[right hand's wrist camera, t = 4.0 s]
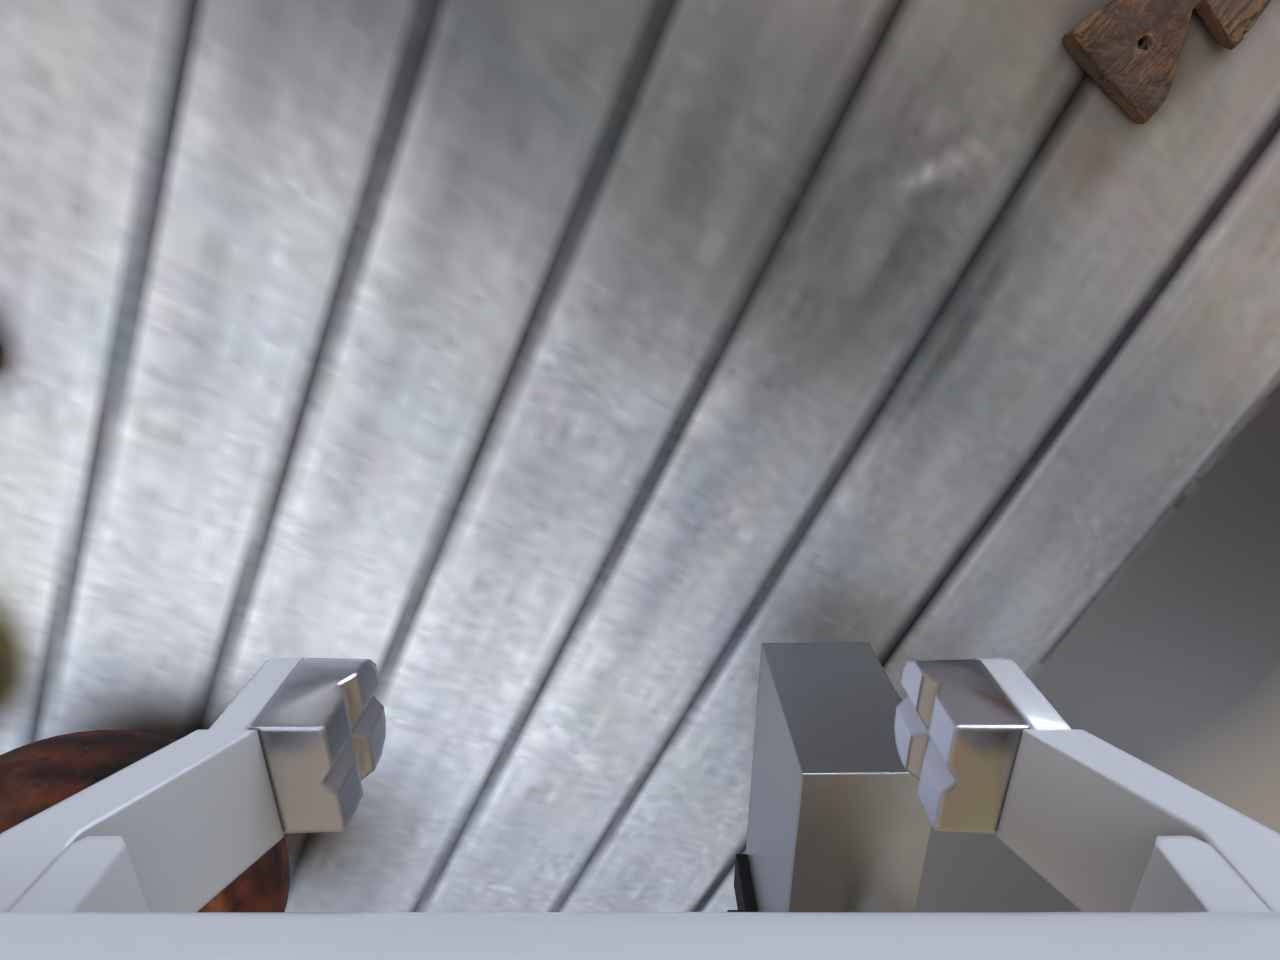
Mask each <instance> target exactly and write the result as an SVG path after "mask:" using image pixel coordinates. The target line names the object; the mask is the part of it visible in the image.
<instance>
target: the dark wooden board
mask: <svg viewBox="0 0 1280 960" xmlns="http://www.w3.org/2000/svg"><path fill="white" fill-rule="evenodd" d="M1270 1H1271V0H1114V1H1112V2H1111V3H1109V4H1107V5H1106V6H1104V7H1103V8H1101V9H1100V10H1098V11H1097V12H1095V13H1094V14H1092V15H1091V16H1089V17H1088V18H1086V19H1085V20H1084V21H1082V22H1081V23H1080V24H1078V25H1077V26H1076V27H1074V28H1073V29H1071V30H1070V31H1069V32H1068V33H1067V34H1066V35H1065V36H1064V38H1063V39H1062V41H1063V44H1064V46H1065V47H1066V48H1067V49H1068V51H1069V52H1070V53H1071V54H1072V55H1073V57H1074V58H1075V59H1076V61H1077V62H1078V64H1079V65H1080V66H1081V67H1082V69H1083V70H1084V71H1085V72H1086V73H1087V74H1088V75H1089V76H1091V77H1092V79H1093V80H1094V81H1095V82H1096V83H1097V84H1098V85H1099V86H1100V87H1101V88H1102V90H1103V91H1104V92H1105V93H1106V94H1107V95H1108V96H1109V97H1110V98H1111V99H1112V100H1113V101H1114V102H1115V103H1116V104H1117V105H1118V106H1119V107H1120V108H1121V109H1122V110H1123V111H1124V112H1125V113H1126V114H1127V115H1128V116H1129V117H1130V118H1131V119H1132V120H1133V121H1134V122H1135V123H1138V124H1143V123H1145V122H1147V121H1148V120H1149V119H1150V117H1151V116H1152V115H1153V114H1154V113H1155V112H1156V111H1157V110H1158V108H1159V107H1160V106H1161V104H1162V103H1163V102H1164V100H1165V99H1166V97H1167V95H1168V93H1169V90H1170V87H1171V84H1172V80H1173V77H1174V74H1175V70H1176V67H1177V63H1178V59H1179V56H1180V52H1181V49H1182V46H1183V44H1184V41H1185V38H1186V34H1187V30H1188V26H1189V23H1190V19H1191V15H1192V10H1193V9H1195V10H1196V12H1197V14H1198V15H1199V16H1201V17H1202V19H1203V21H1204V23H1205V25H1206V26H1207V28H1208V29H1209V31H1210V32H1211V34H1212V35H1213V37H1214V38H1215V39H1216V40H1217V41H1218V42H1219V43H1220V44H1221V45H1222V46H1223V47H1225V48H1227V49H1229V50H1232V49H1233V48H1234V47H1236V46H1237V45H1238V44H1239V43H1240V42H1241V40H1242V39H1243V35H1244V34H1245V33H1247V32H1248V31H1249V29H1250V28H1251V27H1252V26H1253V24H1254V23H1255V22H1256V20H1257V19H1258V17H1259V16H1260V14H1261V13H1262V12H1263V10H1264V9H1265V8H1266V6H1267V5H1268V3H1269V2H1270Z"/></svg>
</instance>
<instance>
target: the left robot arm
mask: <svg viewBox="0 0 1280 960" xmlns="http://www.w3.org/2000/svg"><path fill="white" fill-rule="evenodd" d="M734 888H735V894H736V901H737V907H738V910H728V911H727V912H758V909H757V904H756V898H755V893H754V888H753V882H752V877H751V871H750V866H749V860H748V855H747V854H736V862H735V877H734Z"/></svg>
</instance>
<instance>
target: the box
mask: <svg viewBox="0 0 1280 960" xmlns="http://www.w3.org/2000/svg"><path fill="white" fill-rule="evenodd" d="M900 702H901V699H900V697H899V695H898V694H897V692H896V690H895V688H894V687H893V685H892V683H891V681H890V680H889V678H888V676H887V674H886V672H885V671H884V669H883V667H882V665H881V664H880V662H879V660H878V658H877V657H876V655H875V653H874V651H873V649H872V648H871V646H870V644H869V643H762V644H761V658H760V671H759V685H758V698H757V711H756V725H755V738H754V752H753V765H752V778H751V792H750V805H749V819H748V832H747V845H746V854H747V855H748V860H749V866H750V871H751V877H752V882H753V888H754V893H755V898H756V904H757V909H758V912H915V908H916V903H917V898H918V893H919V888H920V883H921V878H922V873H923V868H924V863H925V857H926V852H927V847H928V842H929V837H930V832H931V827H932V824H931V822H930V820H929V818H928V816H927V814H926V812H925V810H924V808H923V806H922V804H921V801H920V799H919V797H918V795H917V791H918V786H919V780H918V779H917V778H915V777H914V776H913V775H911V774H910V773H909V772H907V771H906V770H905V768H904V766H903V763H902V761H901V759H900V757H899V753H898V750H897V746H896V741H895V729H894V722H895V714H896V706H897V705H898V704H899V703H900Z"/></svg>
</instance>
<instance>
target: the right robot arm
mask: <svg viewBox="0 0 1280 960" xmlns="http://www.w3.org/2000/svg"><path fill="white" fill-rule="evenodd" d="M379 683H380V682H379V677H378V673H377V668H376V664H375V663H374V662H372V661H371V660H370V659H328V658H306V659H304V658H273V659H271V660H268V661H266V662H265V663H264V664H263V665H262V666H261V668H260V669H259V670H258V671H257V672H256V673H255V675H254V676H253V677H252V678H251V679H250V681H249V682H248V683H247V684H246V685H245V687H244V688H243V689H242V690H241V691H240V692H239V694H238V695H237V696H236V697H235V698H234V700H233V701H232V702H231V703H230V704H229V706H228V707H227V708H226V709H225V710H224V711H223V713H222V714H221V715H220V716H219V717H218V719H217V720H216V721H215V722H214V723H213V725H212V726H211V727H210V728H209V729H208V730H196V731H194V732H192V733H190V734H188V735H186V736H185V737H183V738H181V739H179V740H177V741H175V742H173V743H171V744H169V745H167V746H166V747H164V748H162V749H160V750H158V751H156V752H154V753H152V754H150V755H148V756H147V757H145V758H143V759H141V760H139V761H137V762H135V763H133V764H131V765H130V766H128V767H126V768H124V769H122V770H120V771H118V772H116V773H114V774H112V775H111V776H109V777H107V778H105V779H103V780H101V781H99V782H97V783H95V784H93V785H92V786H90V787H88V788H86V789H84V790H82V791H80V792H78V793H76V794H75V795H73V796H71V797H69V798H67V799H65V800H63V801H61V802H59V803H57V804H56V805H54V806H52V807H50V808H48V809H46V810H44V811H42V812H40V813H38V814H37V815H35V816H33V817H31V818H29V819H27V820H25V821H23V822H21V823H20V824H18V825H16V826H14V827H12V828H10V829H8V830H6V831H4V832H2V833H1V834H0V960H1280V834H1279V833H1277V832H1275V831H1273V830H1271V829H1269V828H1268V827H1266V826H1264V825H1262V824H1260V823H1258V822H1256V821H1254V820H1252V819H1251V818H1249V817H1247V816H1245V815H1243V814H1241V813H1239V812H1237V811H1235V810H1234V809H1232V808H1230V807H1228V806H1226V805H1224V804H1222V803H1220V802H1218V801H1216V800H1215V799H1213V798H1211V797H1209V796H1207V795H1205V794H1203V793H1201V792H1199V791H1198V790H1196V789H1194V788H1192V787H1190V786H1188V785H1186V784H1184V783H1182V782H1181V781H1179V780H1177V779H1175V778H1173V777H1171V776H1169V775H1167V774H1165V773H1163V772H1162V771H1160V770H1158V769H1156V768H1154V767H1152V766H1150V765H1148V764H1146V763H1145V762H1143V761H1141V760H1139V759H1137V758H1135V757H1133V756H1131V755H1130V754H1128V753H1126V752H1124V751H1122V750H1120V749H1118V748H1116V747H1114V746H1112V745H1111V744H1109V743H1107V742H1105V741H1103V740H1101V739H1099V738H1097V737H1095V736H1094V735H1092V734H1090V733H1088V732H1086V731H1084V730H1072V729H1071V728H1070V727H1069V726H1068V725H1067V723H1066V722H1065V721H1064V720H1063V719H1062V717H1061V716H1060V715H1059V714H1058V713H1057V712H1056V710H1055V709H1054V708H1053V707H1052V706H1051V704H1050V703H1049V702H1048V701H1047V700H1046V699H1045V697H1044V696H1043V695H1042V694H1041V693H1040V691H1039V690H1038V689H1037V688H1036V687H1035V685H1034V684H1033V683H1032V682H1031V681H1030V680H1029V678H1028V677H1027V676H1026V675H1025V674H1024V672H1023V671H1022V670H1021V669H1020V668H1019V666H1018V665H1017V664H1016V663H1015V662H1014V661H1012V660H1010V659H1008V658H974V659H972V660H907V662H906V664H905V666H904V668H903V671H902V677H901V682H900V683H901V684H902V686H903V688H904V690H905V692H906V694H907V696H906V697H905V698H904V699H903V700H902V701H901V702H900V703H899V704H898V705H897V706H896V714H895V722H894V729H895V741H896V746H897V750H898V753H899V757H900V759H901V761H902V763H903V766H904V768H905V770H906V771H907V772H909V773H910V774H911V775H913V776H914V777H915V778H917V779H918V780H919V786H918V791H917V795H918V797H919V799H920V801H921V804H922V806H923V808H924V810H925V812H926V814H927V816H928V818H929V820H930V822H931V824H932V826H933V828H934V830H935V832H958V833H993V834H996V837H997V838H998V839H999V840H1001V841H1002V842H1003V843H1004V844H1005V845H1006V846H1007V847H1009V848H1010V849H1011V850H1012V851H1013V852H1014V853H1016V854H1017V855H1018V856H1019V857H1020V858H1021V859H1022V860H1024V861H1025V862H1026V863H1027V864H1028V865H1029V866H1031V867H1032V868H1033V869H1034V870H1035V871H1036V872H1037V873H1039V874H1040V875H1041V876H1042V877H1043V878H1044V879H1046V880H1047V881H1048V882H1049V883H1050V884H1051V885H1052V886H1054V887H1055V888H1056V889H1057V890H1058V891H1059V892H1060V893H1062V894H1063V895H1064V896H1065V897H1066V898H1067V899H1069V900H1070V901H1071V902H1072V903H1073V904H1074V905H1075V906H1077V907H1078V908H1079V909H1080V910H1081V911H1082V912H982V913H981V912H980V913H939V912H936V913H935V912H933V913H932V912H931V913H930V912H929V913H928V912H198V911H199V910H200V909H201V908H202V907H204V906H205V905H206V904H207V903H208V902H209V901H211V900H212V899H213V898H214V897H215V896H216V895H217V894H219V893H220V892H221V891H222V890H223V889H224V888H226V887H227V886H228V885H229V884H230V883H231V882H232V881H234V880H235V879H236V878H237V877H238V876H239V875H241V874H242V873H243V872H244V871H245V870H246V869H247V868H249V867H250V866H251V865H252V864H253V863H254V862H256V861H257V860H258V859H259V858H260V857H261V856H262V855H264V854H265V853H266V852H267V851H268V850H269V849H271V848H272V847H273V846H274V845H275V844H276V843H277V842H279V841H280V840H281V839H282V838H283V837H284V834H287V833H321V832H345V830H346V828H347V826H348V824H349V822H350V820H351V818H352V816H353V814H354V812H355V810H356V808H357V806H358V804H359V801H360V799H361V797H362V795H363V791H362V785H361V780H362V779H363V778H365V777H366V776H367V775H369V774H370V773H371V772H373V771H374V770H375V768H376V766H377V763H378V761H379V759H380V757H381V754H382V749H383V745H384V740H385V730H386V719H385V713H384V706H383V705H382V704H381V703H380V702H379V701H378V700H377V699H376V698H375V697H374V696H373V694H374V692H375V690H376V688H377V686H378V684H379Z"/></svg>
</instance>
